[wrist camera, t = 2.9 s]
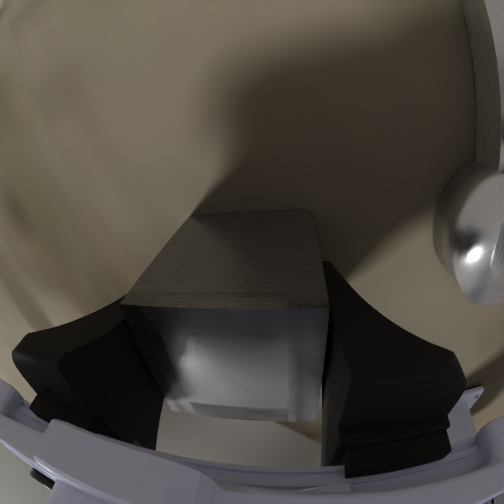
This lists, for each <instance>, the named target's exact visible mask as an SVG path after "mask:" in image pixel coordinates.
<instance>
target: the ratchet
mask: <svg viewBox="0 0 504 504" xmlns="http://www.w3.org/2000/svg"><path fill="white" fill-rule="evenodd" d="M461 4H462V8H463V12H464V16H465V20H466V25H467V30H468V35H469V41H470V47H471V53H472V61H473V69H474V79H475V92H476V155H475V161H473V162H471V163H469V164H467V165H466V166H464V167H463V168H462V169H460V170H459V171H458V172H457V173H456V174H455V175H454V176H453V178H452V179H451V180H450V181H449V183H448V184H447V186H446V187H445V189H444V191H443V193H442V195H441V197H440V200H439V202H438V205H437V208H436V212H435V216H434V222H433V242H434V247H435V251H436V254H437V256H438V258H439V260H440V262H441V263H442V265H443V266H444V267H445V269H446V270H447V271H448V272H449V274H450V275H451V276H452V278H453V279H454V280H455V282H456V283H457V284H458V286H459V287H460V289H461V290H462V291H463V293H464V294H465V295H466V297H467V298H468V299H469V300H470V301H472V302H474V303H475V304H479V305H485V306H486V305H494V304H497V303H500V302H503V301H504V0H461Z"/></svg>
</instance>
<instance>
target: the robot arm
mask: <svg viewBox="0 0 504 504" xmlns="http://www.w3.org/2000/svg"><path fill="white" fill-rule="evenodd" d="M322 265H323V271H324V276H325V282H326V288H327V294H328V300H329V307H330V309H329V321H328V331H327V341H326V350H325V358H324V366H323V374H322V450H321V451H322V452H321V467H293V468H292V467H261V466H246V465H235V464H226V463H218V462H211V461H204V460H198V459H192V458H187V457H181V456H176V455H171V454H167V453H163V452H159V451H155V450H156V441H157V433H158V426H159V421H160V415H161V410H162V406H163V401H164V395H163V394H162V392H161V390H160V388H159V386H158V384H157V383H156V381H155V379H154V377H153V375H152V373H151V371H150V369H149V367H148V365H147V363H146V361H145V359H144V357H143V355H142V353H141V351H140V349H139V347H138V345H137V343H136V341H135V339H134V337H133V334H132V332H131V330H130V328H129V325H128V323H127V321H126V319H125V316H124V314H123V311H122V309H121V307H120V303H121V301H122V300H123V299H124V297H125V296H126V295H127V294H126V295H125V296H123V297H121V298H120V299H118V300H117V301H115V302H113V303H111V304H109V305H108V306H106V307H104V308H102V309H100V310H98V311H96V312H94V313H91V314H89V315H87V316H84V317H82V318H80V319H77V320H75V321H72V322H69V323H66V324H63V325H60V326H57V327H53V328H50V329H46V330H41V331H37V332H32V333H28V334H27V335H26V336H25V337H24V338H23V339H22V340H21V341H20V343H19V344H18V345H17V346H16V348H15V349H14V350H13V351H12V358H13V362H14V364H15V366H16V367H17V369H18V370H19V372H20V373H21V374H22V376H23V377H24V378H25V380H26V381H27V382H28V383H29V385H30V386H31V387H32V388H33V390H34V391H35V392H36V393H37V395H36V397H35V399H34V400H33V402H32V403H29V402H28V401H26V400H24V399H23V397H22V396H21V395H20V393H19V392H18V391H17V390H16V389H15V388H14V387H13V386H11V385H10V384H8V383H6V382H5V381H3V380H1V379H0V442H1V443H2V444H3V445H5V446H6V447H7V448H8V449H9V450H11V451H12V452H13V453H14V454H16V455H17V456H18V457H20V458H21V459H22V460H24V461H25V462H27V463H28V464H30V465H31V466H32V467H34V468H35V469H37V470H38V471H40V472H41V473H43V474H44V475H46V476H47V477H49V478H51V479H52V480H54V481H55V484H54V486H53V489H52V491H51V493H50V496H49V498H48V501H47V503H46V504H504V415H503V416H501V417H499V418H496V419H494V420H492V421H490V422H489V423H487V424H486V425H485V426H483V427H482V428H481V429H480V430H479V432H478V433H477V431H476V428H475V424H474V421H473V418H472V415H471V412H470V408H471V407H472V406H473V405H474V403H475V402H476V401H477V399H478V398H479V397H480V395H481V394H482V393H483V391H484V388H483V386H480V387H476V388H473V389H469V390H466V391H464V390H465V388H466V383H467V381H466V378H465V376H464V373H463V371H462V368H461V366H460V363H459V361H458V359H457V358H456V356H455V354H454V352H452V351H450V350H447V349H445V348H442V347H440V346H437V345H435V344H432V343H430V342H427V341H425V340H423V339H421V338H419V337H417V336H415V335H413V334H412V333H410V332H408V331H406V330H404V329H403V328H401V327H400V326H398V325H396V324H395V323H393V322H392V321H390V320H389V319H387V318H386V317H384V316H383V315H382V314H381V313H379V312H378V311H377V310H375V309H374V308H373V307H372V306H370V305H369V304H368V303H367V302H366V301H365V300H364V299H363V298H362V297H361V296H360V295H359V294H358V293H357V292H356V291H355V290H354V289H353V288H352V287H351V286H350V285H349V284H348V283H347V281H346V280H345V279H344V278H343V277H342V276H341V274H340V273H339V272H338V271H337V269H336V268H335V267H334V265H333V264H332V263H331V262H330V261H322Z"/></svg>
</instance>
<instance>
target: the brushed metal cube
mask: <svg viewBox="0 0 504 504" xmlns="http://www.w3.org/2000/svg"><path fill="white" fill-rule="evenodd" d="M120 307H121V309H122V311H123V314H124V316H125V319H126V321H127V323H128V325H129V328H130V330H131V332H132V334H133V337H134V339H135V341H136V343H137V345H138V347H139V349H140V351H141V353H142V355H143V357H144V359H145V361H146V363H147V365H148V367H149V369H150V371H151V373H152V375H153V377H154V379H155V381H156V383H157V384H158V386H159V388H160V390H161V392H162V394H163V395H164V397H165V399H166V401H167V402H168V404H169V406H170V407H171V409H172V411H174V412H180V413H187V414H194V415H201V416H209V417H219V418H229V419H243V420H259V421H315V420H316V414H317V408H318V402H319V395H320V389H321V382H322V374H323V366H324V358H325V350H326V341H327V331H328V321H329V309H330V307H329V300H328V294H327V288H326V282H325V276H324V271H323V265H322V260H321V254H320V249H319V244H318V239H317V234H316V229H315V224H314V219H313V214H312V210H299V211H271V212H249V213H230V214H213V215H197V216H189V217H188V219H187V220H186V221H185V222H184V223H183V224H182V226H181V227H180V228H179V229H178V230H177V232H176V233H175V234H174V235H173V236H172V238H171V239H170V240H169V241H168V242H167V244H166V245H165V246H164V247H163V249H162V250H161V251H160V252H159V254H158V255H157V256H156V257H155V259H154V260H153V261H152V262H151V264H150V265H149V266H148V267H147V269H146V270H145V271H144V273H143V274H142V275H141V276H140V278H139V279H138V280H137V282H136V283H135V284H134V285H133V287H132V288H131V289H130V291H129V292H128V293H127V295H126V296H125V297H124V299H123V300H122V301H121V303H120Z"/></svg>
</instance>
